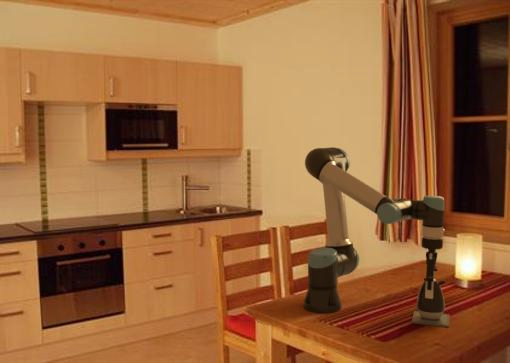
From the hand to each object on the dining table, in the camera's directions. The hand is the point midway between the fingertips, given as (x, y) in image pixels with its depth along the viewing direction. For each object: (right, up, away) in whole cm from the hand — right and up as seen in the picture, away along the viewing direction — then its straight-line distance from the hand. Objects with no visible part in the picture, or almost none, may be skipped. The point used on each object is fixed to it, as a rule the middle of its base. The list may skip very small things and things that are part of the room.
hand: (430, 293), depth 205 cm
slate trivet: (0, -10, 0) cm, 10 cm away
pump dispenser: (0, -10, 0) cm, 10 cm away
